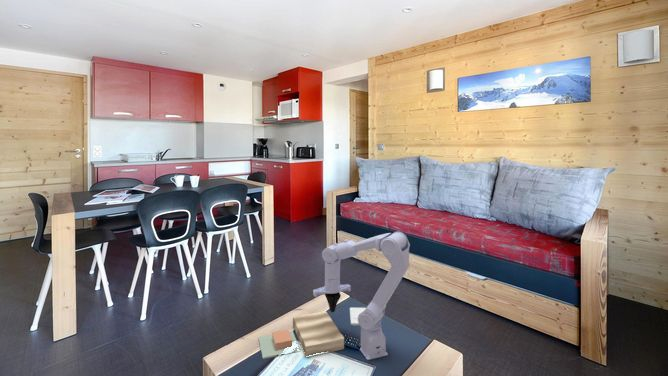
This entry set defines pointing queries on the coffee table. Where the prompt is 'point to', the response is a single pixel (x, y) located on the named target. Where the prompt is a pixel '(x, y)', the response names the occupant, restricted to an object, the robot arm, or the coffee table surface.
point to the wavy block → (317, 333)
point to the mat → (272, 346)
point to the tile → (281, 339)
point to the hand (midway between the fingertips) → (332, 310)
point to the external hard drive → (355, 315)
